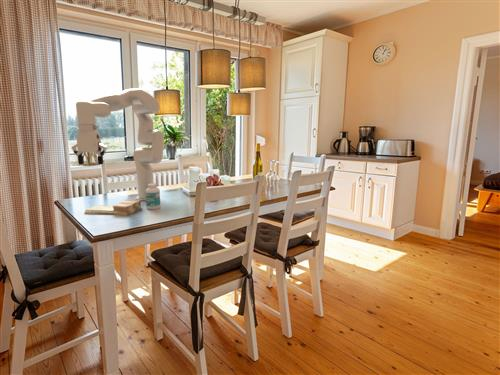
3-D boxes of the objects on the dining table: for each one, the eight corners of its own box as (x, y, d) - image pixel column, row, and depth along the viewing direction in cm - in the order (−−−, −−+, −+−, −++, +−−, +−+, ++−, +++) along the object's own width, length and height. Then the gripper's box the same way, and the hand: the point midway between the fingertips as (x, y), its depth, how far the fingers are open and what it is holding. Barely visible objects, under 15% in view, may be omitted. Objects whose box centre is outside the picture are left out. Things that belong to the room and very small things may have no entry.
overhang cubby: (100, 207, 172) (99, 199, 171) (141, 208, 170) (140, 200, 169) (84, 214, 158) (83, 205, 157) (128, 215, 156) (128, 206, 155)
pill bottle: (143, 209, 167) (141, 184, 165) (152, 206, 174) (150, 182, 171) (154, 210, 165) (153, 185, 162) (163, 207, 171) (162, 183, 169)
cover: (95, 209, 170) (95, 205, 169) (121, 209, 168) (121, 206, 168) (85, 213, 161) (85, 210, 160) (112, 214, 159) (112, 210, 159)
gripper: (109, 128, 149) (112, 163, 152) (74, 128, 150) (78, 163, 154) (100, 128, 142) (104, 165, 145) (64, 128, 143) (68, 165, 146)
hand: (91, 164), depth 149 cm, fingers open, 9 cm apart
